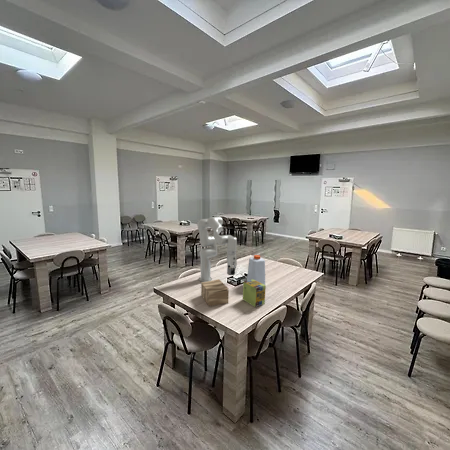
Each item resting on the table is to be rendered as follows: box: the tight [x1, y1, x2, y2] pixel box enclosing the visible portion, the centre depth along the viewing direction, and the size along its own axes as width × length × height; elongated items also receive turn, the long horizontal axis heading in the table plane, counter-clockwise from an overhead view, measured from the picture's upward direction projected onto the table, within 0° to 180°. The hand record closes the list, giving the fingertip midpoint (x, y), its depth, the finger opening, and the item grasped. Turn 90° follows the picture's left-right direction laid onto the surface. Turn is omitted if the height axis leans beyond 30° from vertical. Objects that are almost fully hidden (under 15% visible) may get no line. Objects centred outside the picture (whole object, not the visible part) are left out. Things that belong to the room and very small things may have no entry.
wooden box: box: [200, 284, 229, 307], centre depth 194 cm, size 20×16×11 cm
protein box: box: [242, 279, 266, 308], centre depth 191 cm, size 10×15×16 cm
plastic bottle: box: [246, 254, 266, 285], centre depth 223 cm, size 15×15×28 cm
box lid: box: [200, 279, 229, 293], centre depth 193 cm, size 20×16×1 cm
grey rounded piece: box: [226, 267, 236, 276], centre depth 198 cm, size 6×6×5 cm
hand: (231, 272), depth 198 cm, fingers closed on grey rounded piece, 6 cm apart
